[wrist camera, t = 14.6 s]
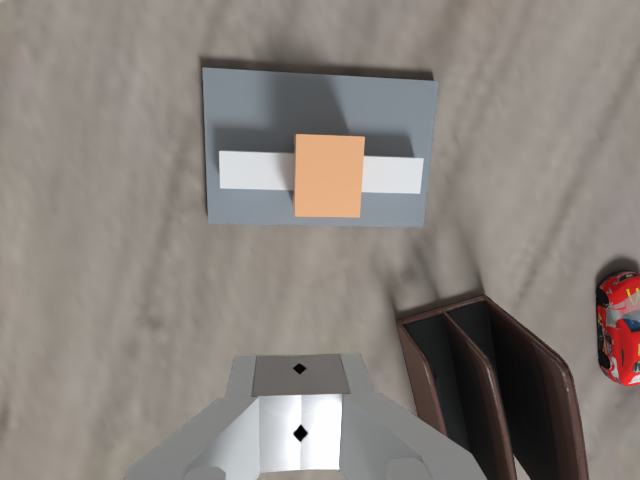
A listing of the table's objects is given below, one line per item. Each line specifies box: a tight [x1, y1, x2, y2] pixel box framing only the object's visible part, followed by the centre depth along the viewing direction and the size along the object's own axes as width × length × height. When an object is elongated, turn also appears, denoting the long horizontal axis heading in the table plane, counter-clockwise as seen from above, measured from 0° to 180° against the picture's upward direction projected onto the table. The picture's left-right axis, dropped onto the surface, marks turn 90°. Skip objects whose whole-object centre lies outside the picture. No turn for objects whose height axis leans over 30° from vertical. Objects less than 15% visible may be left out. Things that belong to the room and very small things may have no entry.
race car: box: [596, 271, 640, 386], centre depth 41 cm, size 13×5×4 cm, turn 12°
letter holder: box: [397, 295, 589, 480], centre depth 36 cm, size 10×20×14 cm, turn 15°
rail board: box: [202, 67, 439, 227], centre depth 33 cm, size 20×13×3 cm, turn 88°
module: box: [293, 134, 365, 218], centre depth 31 cm, size 5×6×6 cm
